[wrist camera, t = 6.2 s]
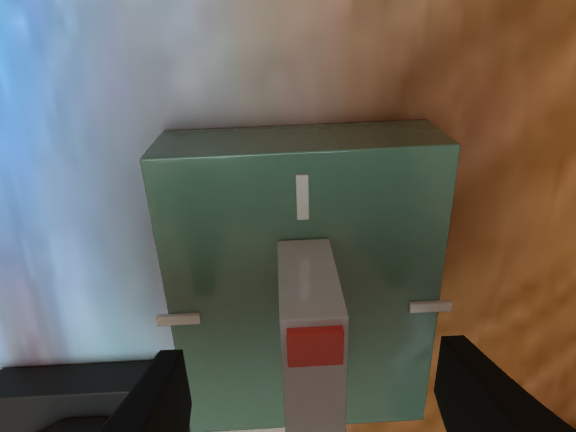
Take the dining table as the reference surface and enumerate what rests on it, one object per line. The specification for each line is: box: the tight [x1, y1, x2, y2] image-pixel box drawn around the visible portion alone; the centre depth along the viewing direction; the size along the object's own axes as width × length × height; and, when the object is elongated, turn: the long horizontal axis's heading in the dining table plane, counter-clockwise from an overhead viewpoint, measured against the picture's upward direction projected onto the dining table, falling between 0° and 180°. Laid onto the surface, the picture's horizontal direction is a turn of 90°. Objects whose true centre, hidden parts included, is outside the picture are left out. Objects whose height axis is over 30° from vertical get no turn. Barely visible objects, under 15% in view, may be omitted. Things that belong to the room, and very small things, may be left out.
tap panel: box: [140, 120, 460, 432], centre depth 16 cm, size 10×11×3 cm
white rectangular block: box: [277, 239, 349, 432], centre depth 13 cm, size 6×2×4 cm, turn 2°
